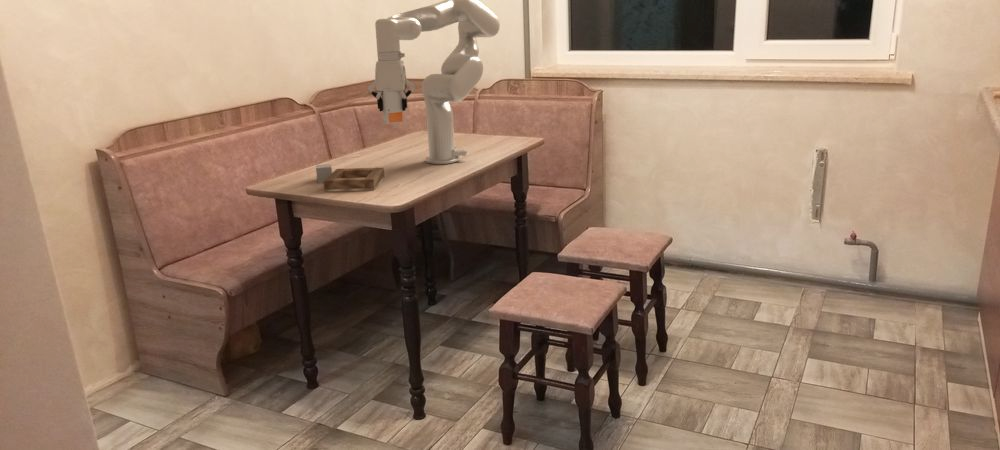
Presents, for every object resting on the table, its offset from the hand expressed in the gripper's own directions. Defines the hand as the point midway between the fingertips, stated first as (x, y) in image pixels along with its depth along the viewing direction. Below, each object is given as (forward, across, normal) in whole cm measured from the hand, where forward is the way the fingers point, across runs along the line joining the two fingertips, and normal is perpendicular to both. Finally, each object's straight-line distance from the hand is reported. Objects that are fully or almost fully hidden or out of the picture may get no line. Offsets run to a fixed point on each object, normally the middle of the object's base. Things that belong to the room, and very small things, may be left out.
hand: (392, 110), depth 258 cm
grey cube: (+22, +23, +8) cm, 33 cm away
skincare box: (+5, 0, 0) cm, 5 cm away
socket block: (+22, +11, +15) cm, 29 cm away
